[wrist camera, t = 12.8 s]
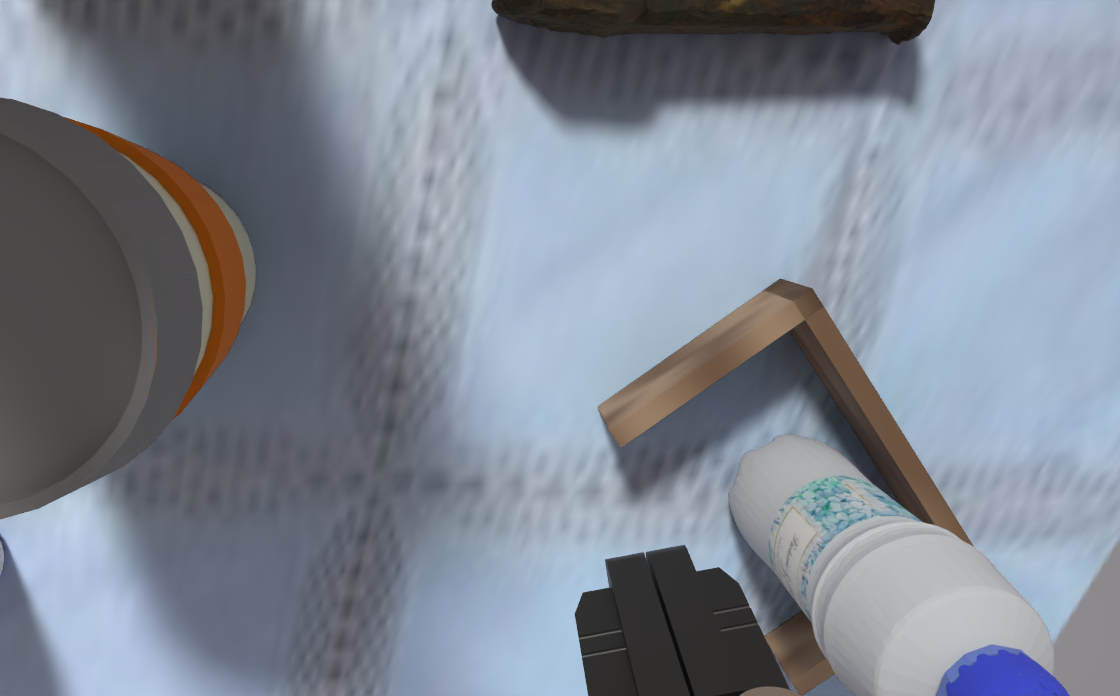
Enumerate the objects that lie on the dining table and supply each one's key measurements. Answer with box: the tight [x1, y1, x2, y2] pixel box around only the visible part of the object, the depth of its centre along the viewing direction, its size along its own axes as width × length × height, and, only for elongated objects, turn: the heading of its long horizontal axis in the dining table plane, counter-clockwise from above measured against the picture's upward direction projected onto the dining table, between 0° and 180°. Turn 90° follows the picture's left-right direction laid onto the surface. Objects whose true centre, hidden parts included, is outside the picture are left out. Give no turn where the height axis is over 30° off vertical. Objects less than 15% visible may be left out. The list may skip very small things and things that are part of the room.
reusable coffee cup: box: [0, 98, 256, 519], centre depth 29 cm, size 12×13×15 cm
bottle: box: [728, 435, 1069, 696], centre depth 31 cm, size 7×7×20 cm
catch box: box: [598, 279, 974, 696], centre depth 39 cm, size 11×17×4 cm, turn 35°
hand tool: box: [492, 0, 935, 45], centre depth 34 cm, size 19×4×5 cm, turn 90°
